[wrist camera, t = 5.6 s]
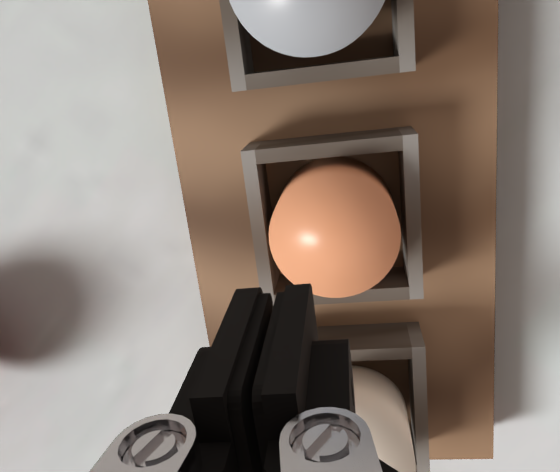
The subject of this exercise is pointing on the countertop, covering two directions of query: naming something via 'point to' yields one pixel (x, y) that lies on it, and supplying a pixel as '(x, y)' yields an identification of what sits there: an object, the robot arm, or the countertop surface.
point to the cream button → (384, 417)
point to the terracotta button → (335, 228)
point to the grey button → (306, 23)
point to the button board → (376, 154)
